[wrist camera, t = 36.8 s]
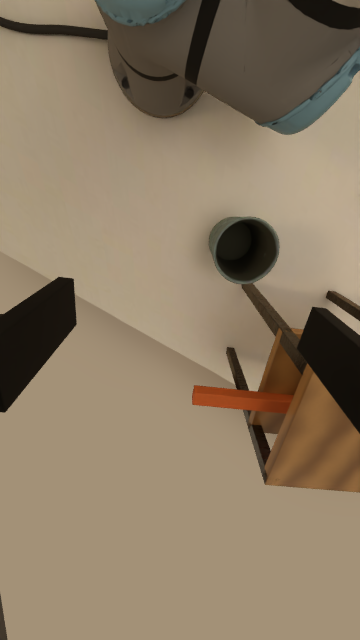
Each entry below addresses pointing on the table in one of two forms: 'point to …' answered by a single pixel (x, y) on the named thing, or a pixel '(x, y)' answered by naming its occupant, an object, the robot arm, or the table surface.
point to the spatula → (241, 399)
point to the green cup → (244, 248)
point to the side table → (300, 413)
